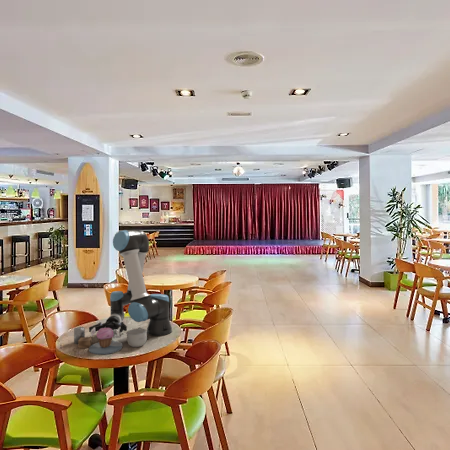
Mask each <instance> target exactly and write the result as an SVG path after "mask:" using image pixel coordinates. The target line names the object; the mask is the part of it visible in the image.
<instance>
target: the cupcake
mask: <svg viewBox="0 0 450 450" xmlns="http://www.w3.org/2000/svg"><path fill="white" fill-rule="evenodd" d="M96 338H97V340H98V343H99V344H100V346H101V347H103V348H106V347H108V346H110V344H111V342H112V341H113V338H114V330H112V329H111V328H101V329H99V331H96Z"/></svg>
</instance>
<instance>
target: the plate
mask: <svg viewBox="0 0 450 450" xmlns="http://www.w3.org/2000/svg"><path fill="white" fill-rule="evenodd" d="M122 349H123V343H122V342H121V341H116V340H112V342H111V344H110V346H108V347H106V348H103V347H101V346H100V344H99V342H96V343H92V345H91V346H90V347H89V348H88V352H89V353H90V354H92V355H93V354H94V355H101V356H102V355H110V354H113V353H114V354H115V353H116V352H117V353H118V352H119V351H121V350H122Z"/></svg>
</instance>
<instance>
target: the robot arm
mask: <svg viewBox="0 0 450 450" xmlns="http://www.w3.org/2000/svg"><path fill="white" fill-rule="evenodd" d="M112 245H113V248H114V249H115V250H116V251H118V252H119V253H118V254H119V255H120V256H121V257H122V258H123V262H124V266H125V267H124V268H125V272H126V276H127V280H128V285H127V290H126V292H123V291H121V290H115V291H112V292H111V293H110V296H109V297H110V298H109V301H110V303H109V304H110V316H109V317H108V318H107V319H106V321H105V322H103V323H102V322H98V323H96V324H94V325H91V326H89V327H88V331H89V333H90V337H93V336H94V335H95V334H96V333H97V332H98V331H99V329H101V328H111V329H112V330H113V331H115V330H116V336H118V337H119V335H120V334H121V333H122V332H127V331H128V330H127V329H128V325H126V324H125V323H124V319H125V312H124V307H125V306H127V305H128V308H127V311H128V315H129V317H130V319H132V320H133V322H136V323H141V322H146V321H148V320H149V321H148V325H147V329H146V330H147V331H146V333H147V335H150V336H155V337H156V336H157V337H159V336H165V335H166V336H167V335H169V334H171V333H172V332H173V326H172V324H171V321H170V298H169V295H167V294H163V293H151V294H149V293H148V292H147V289H146V288H147V287H146V284H145V280H144V279H145V278H144V274H143V272H144V266H145V261H146V255H147V254H148V253H149V249H150V242H149V236H148V235H147V234H146V232H144V231H143V230H140V229H123V230H119V231H117V232H116V233H115V234H114V236H113V239H112Z"/></svg>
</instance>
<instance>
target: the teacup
mask: <svg viewBox="0 0 450 450" xmlns="http://www.w3.org/2000/svg"><path fill="white" fill-rule="evenodd" d="M125 334H126V340H127V341H126V342H127V343H128V345H129V346H130V347H132V348H139V347H143V346H144V345H145V344H146V342H147V339H148V337H147V336H148V334H147V329H146V328H143V327H137V328H132V329H130V330H127V331H126V333H125Z"/></svg>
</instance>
